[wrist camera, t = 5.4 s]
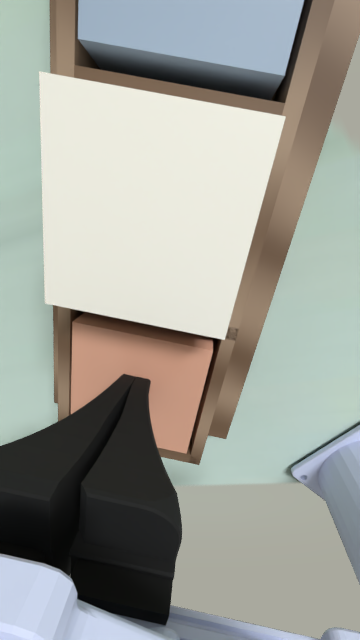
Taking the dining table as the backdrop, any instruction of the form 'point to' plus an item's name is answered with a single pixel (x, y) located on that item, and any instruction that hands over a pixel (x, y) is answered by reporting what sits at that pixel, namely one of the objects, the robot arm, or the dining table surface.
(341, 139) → the dining table surface
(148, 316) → the cream key
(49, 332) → the dining table surface
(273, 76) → the slate blue key
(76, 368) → the terracotta key
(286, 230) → the wooden compartment tray
